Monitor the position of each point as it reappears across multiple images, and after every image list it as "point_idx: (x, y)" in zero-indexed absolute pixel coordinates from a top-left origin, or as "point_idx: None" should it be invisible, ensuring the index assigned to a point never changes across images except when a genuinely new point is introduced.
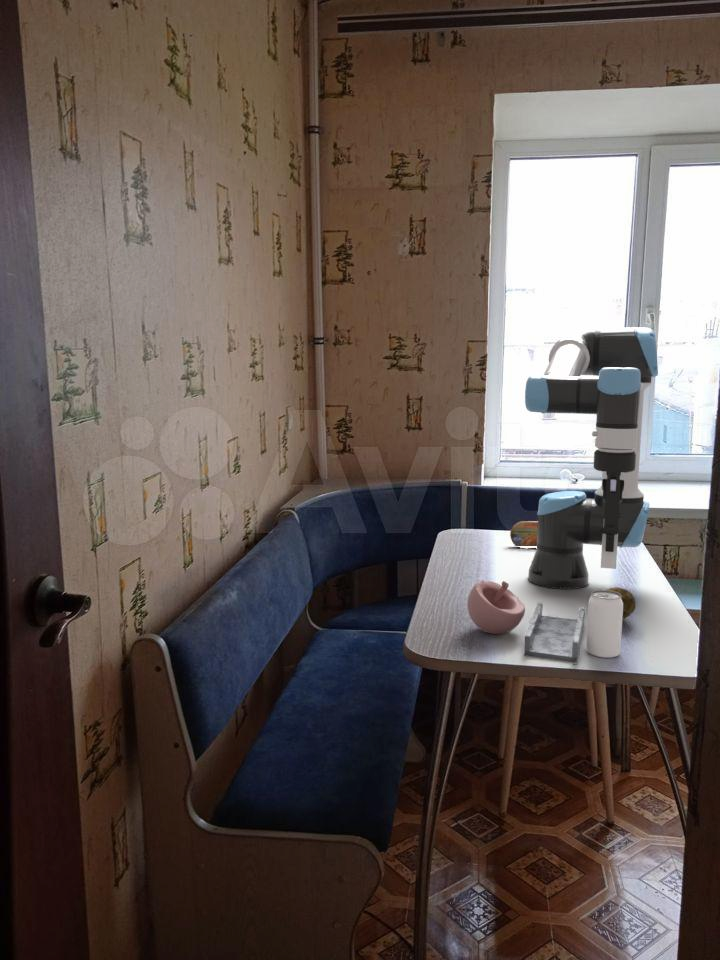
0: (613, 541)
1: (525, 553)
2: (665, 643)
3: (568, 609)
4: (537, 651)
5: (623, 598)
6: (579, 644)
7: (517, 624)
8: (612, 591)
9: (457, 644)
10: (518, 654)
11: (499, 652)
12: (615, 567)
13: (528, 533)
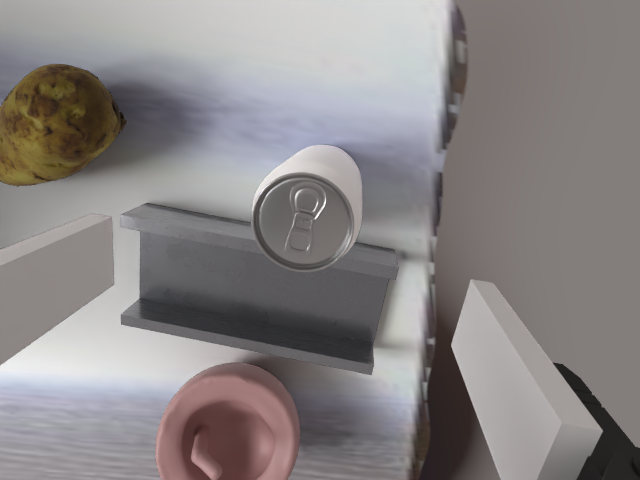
0: (617, 428)
1: None
2: (221, 3)
3: (47, 226)
4: (370, 329)
5: (88, 111)
6: None
7: (265, 371)
8: (260, 197)
9: (332, 451)
10: None
11: (360, 388)
12: (496, 289)
13: None
